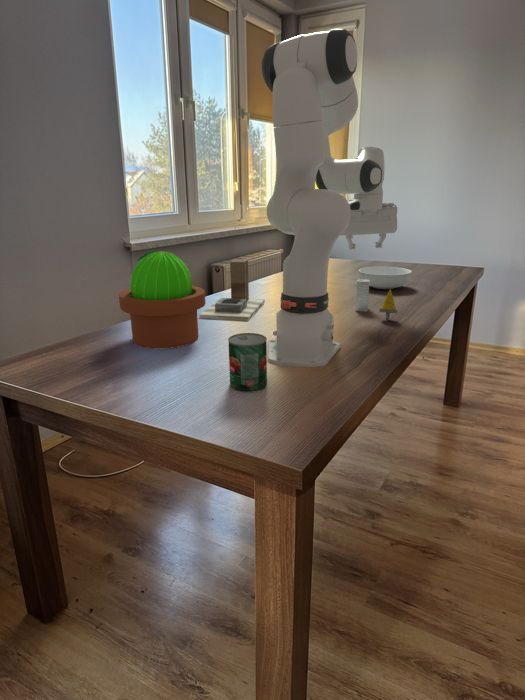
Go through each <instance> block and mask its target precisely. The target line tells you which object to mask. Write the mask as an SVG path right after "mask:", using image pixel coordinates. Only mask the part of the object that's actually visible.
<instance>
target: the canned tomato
mask: <svg viewBox="0 0 525 700" xmlns="http://www.w3.org/2000/svg"><path fill="white" fill-rule="evenodd" d="M227 341H228V361H229V363H228V364H229V365H228V367H229V369H228V371H229V385H230V388H231V389H232V390H234V391H237V392H241V393H254V392H259V391H262V390H263V389H266V388H267V386H268V363H267V362H268V344H267V341H268V339H267V337H266V336H265V335H264V334H260V333H257V332H256V333H255V332H242V333H241V332H240V333H236V334H233V335H231V336H229V337H228V339H227Z"/></svg>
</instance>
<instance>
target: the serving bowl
mask: <svg viewBox="0 0 525 700" xmlns="http://www.w3.org/2000/svg"><path fill="white" fill-rule="evenodd" d="M412 271H413V270H411V269H409V268H404V267H397V266H369V267H368V266H367V267H362V268H360V269H359V268H358V277H359V279H370V283H369V287H372V288H374V289H378V290H390V289H391V290H393V289H395V288H400V287H402V286H404V285H406V284H407V283H408V282H409V281H410V279H411V277H412V274H413V272H412Z"/></svg>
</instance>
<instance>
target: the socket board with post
mask: <svg viewBox="0 0 525 700" xmlns="http://www.w3.org/2000/svg"><path fill="white" fill-rule="evenodd" d="M229 264H230V267H229V268H230V272H229V273H230V297H220V298H219V299H218V300H216V301H215V302H214V303H212V304H211V305H210V306H209V307H207V308H206V309H205V310H203V311H202V312H200V314H199V316H198V317H199V319H204V318H216V319H215V320H223V319H228V320H227V321H241V320H242V322H243V321H245V322H249V321H251V319H252V318H253V317H254V316H255V314H257V312H258V311H259V310H260V309H261V308H262V307H263V306H264V305H265V300H266V299H264V298H263V299H262V298H250V293H249V292H250V291H249V289H250V288H249V284H250V283H249V260H248V259H233V260H231V261H230V262H229ZM262 305H263V306H262ZM261 306H262V307H261ZM260 307H261V308H260ZM259 308H260V309H259Z"/></svg>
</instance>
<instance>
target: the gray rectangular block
mask: <svg viewBox="0 0 525 700" xmlns="http://www.w3.org/2000/svg"><path fill="white" fill-rule="evenodd" d="M369 283H370V279H360V278H358V279H356V291H355V292H356V294H355V310H354V311H356V312H368V310H369V299H370V298H369V295H370V286H369Z"/></svg>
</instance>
